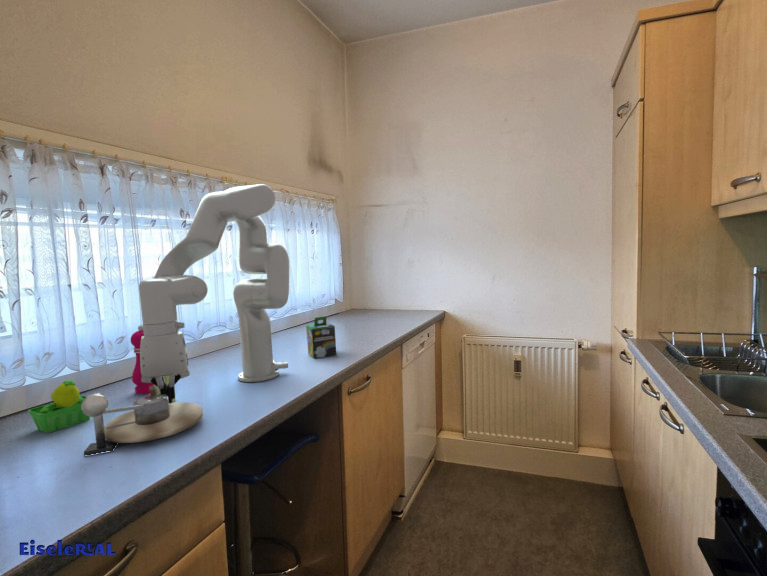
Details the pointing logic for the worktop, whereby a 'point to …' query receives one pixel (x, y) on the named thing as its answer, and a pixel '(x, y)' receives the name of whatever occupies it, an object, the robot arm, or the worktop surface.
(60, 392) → the fruit basket
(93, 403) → the knob-topped metal post
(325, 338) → the chalk box
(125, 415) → the turntable
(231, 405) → the worktop surface
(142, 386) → the pepper mill
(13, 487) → the worktop surface
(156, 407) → the cover
